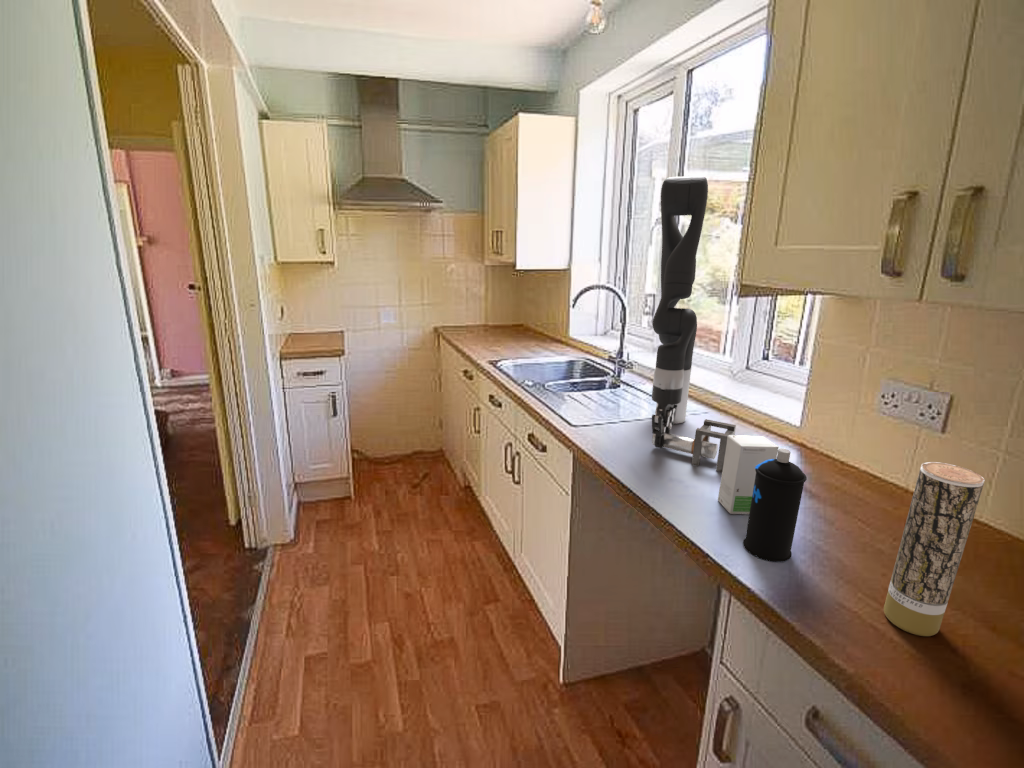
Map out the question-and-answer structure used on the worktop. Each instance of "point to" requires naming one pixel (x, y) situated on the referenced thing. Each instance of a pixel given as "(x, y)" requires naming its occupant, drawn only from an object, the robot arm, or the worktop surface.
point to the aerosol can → (774, 508)
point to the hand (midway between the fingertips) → (661, 444)
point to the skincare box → (742, 470)
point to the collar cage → (704, 435)
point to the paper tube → (932, 546)
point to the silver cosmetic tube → (687, 445)
